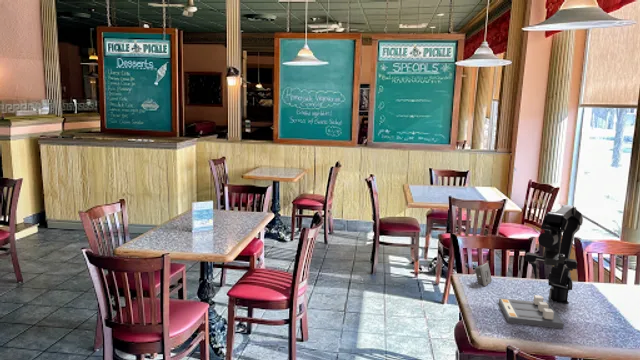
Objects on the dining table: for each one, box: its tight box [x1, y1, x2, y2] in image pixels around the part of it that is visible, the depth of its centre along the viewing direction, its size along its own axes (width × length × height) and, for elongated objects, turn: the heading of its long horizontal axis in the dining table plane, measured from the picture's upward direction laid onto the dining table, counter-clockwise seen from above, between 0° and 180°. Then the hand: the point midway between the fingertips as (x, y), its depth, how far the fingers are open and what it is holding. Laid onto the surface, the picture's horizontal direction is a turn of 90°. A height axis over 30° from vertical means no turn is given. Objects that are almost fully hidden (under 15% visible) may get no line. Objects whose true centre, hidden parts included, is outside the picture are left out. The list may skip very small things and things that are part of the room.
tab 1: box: [538, 301, 549, 312], centre depth 188 cm, size 3×3×3 cm
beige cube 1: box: [533, 294, 544, 305], centre depth 195 cm, size 3×3×3 cm
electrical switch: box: [474, 262, 493, 287], centre depth 225 cm, size 9×5×9 cm, turn 141°
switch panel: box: [498, 297, 565, 329], centre depth 189 cm, size 20×20×2 cm
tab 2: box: [543, 308, 554, 320], centre depth 181 cm, size 3×3×3 cm
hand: (548, 281), depth 190 cm, fingers open, 9 cm apart
